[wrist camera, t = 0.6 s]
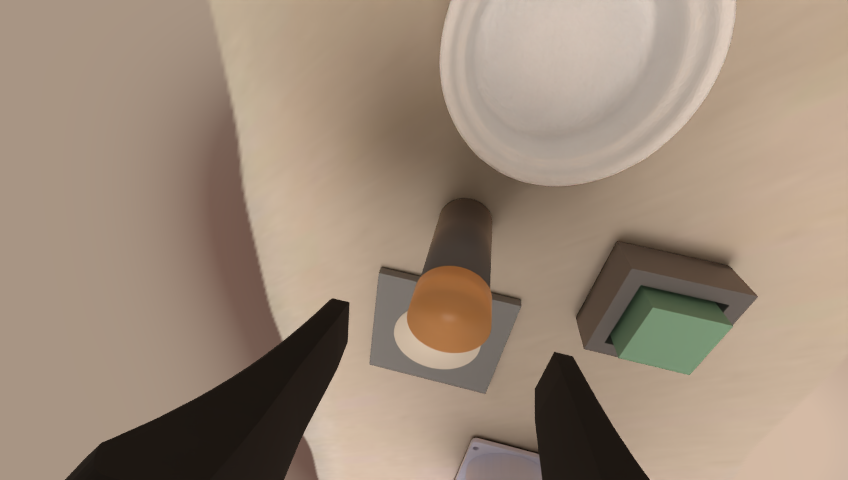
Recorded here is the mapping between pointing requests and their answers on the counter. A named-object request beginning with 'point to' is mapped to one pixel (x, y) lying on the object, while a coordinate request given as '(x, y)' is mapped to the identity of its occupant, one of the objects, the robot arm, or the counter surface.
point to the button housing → (660, 272)
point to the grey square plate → (413, 357)
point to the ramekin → (578, 80)
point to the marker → (455, 281)
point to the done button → (668, 330)
